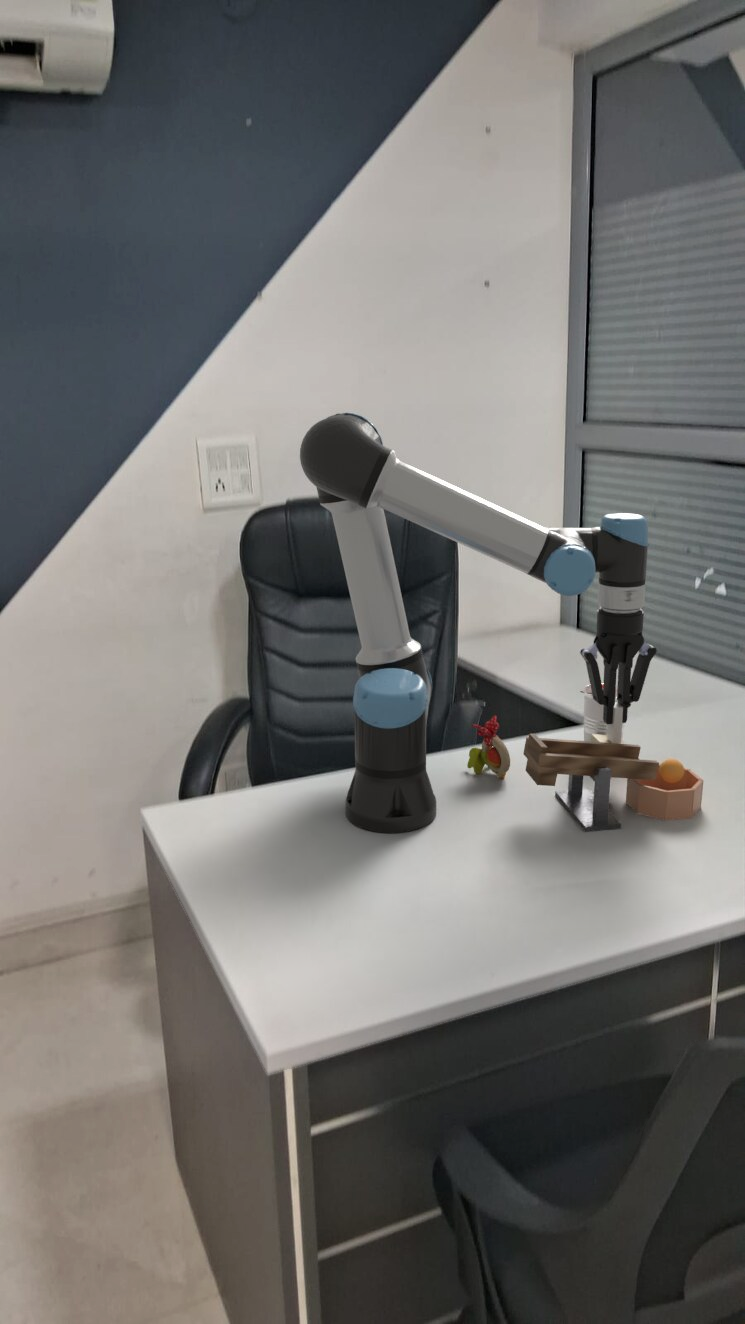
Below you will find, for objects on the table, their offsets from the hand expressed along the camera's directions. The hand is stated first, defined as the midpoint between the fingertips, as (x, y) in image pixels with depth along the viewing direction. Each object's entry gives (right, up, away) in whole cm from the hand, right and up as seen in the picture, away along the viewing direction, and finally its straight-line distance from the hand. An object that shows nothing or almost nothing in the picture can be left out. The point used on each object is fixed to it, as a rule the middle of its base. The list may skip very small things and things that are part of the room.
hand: (613, 740), depth 171 cm
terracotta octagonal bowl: (+7, -10, -4) cm, 13 cm away
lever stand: (-6, -11, -7) cm, 14 cm away
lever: (-7, -5, -5) cm, 10 cm away
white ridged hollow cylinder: (+2, -3, +20) cm, 20 cm away
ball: (+8, -5, -6) cm, 11 cm away
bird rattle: (-20, -7, +9) cm, 23 cm away
